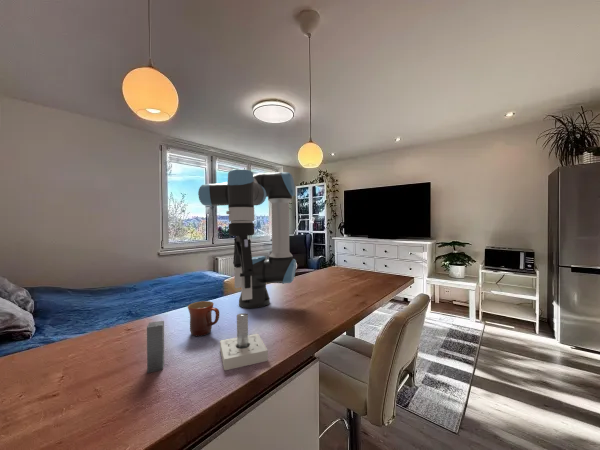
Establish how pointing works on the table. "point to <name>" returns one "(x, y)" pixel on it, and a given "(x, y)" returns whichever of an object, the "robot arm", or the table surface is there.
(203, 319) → the mug
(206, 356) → the table surface
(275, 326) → the table surface
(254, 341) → the bore block
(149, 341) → the square bit
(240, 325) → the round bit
